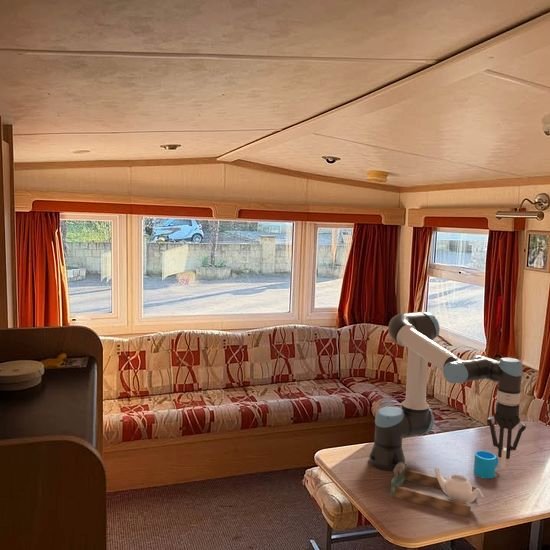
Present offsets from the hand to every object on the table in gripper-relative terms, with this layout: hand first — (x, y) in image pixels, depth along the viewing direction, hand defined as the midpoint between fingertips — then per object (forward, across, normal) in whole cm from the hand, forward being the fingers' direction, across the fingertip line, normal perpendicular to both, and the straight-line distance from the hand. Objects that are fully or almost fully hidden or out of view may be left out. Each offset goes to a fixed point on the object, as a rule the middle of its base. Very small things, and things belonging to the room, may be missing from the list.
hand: (503, 466), depth 191 cm
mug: (+18, -8, +31) cm, 37 cm away
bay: (+18, -24, 0) cm, 30 cm away
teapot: (+18, -15, 0) cm, 23 cm away
